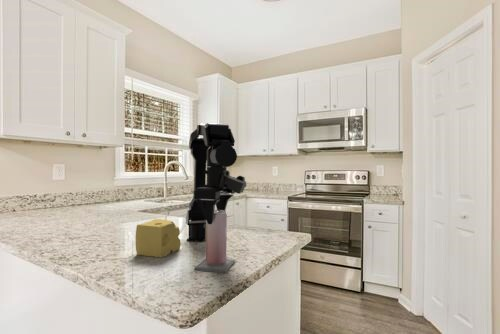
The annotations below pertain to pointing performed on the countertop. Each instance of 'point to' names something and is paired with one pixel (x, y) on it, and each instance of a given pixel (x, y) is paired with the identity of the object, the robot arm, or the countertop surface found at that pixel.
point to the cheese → (157, 238)
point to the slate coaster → (220, 269)
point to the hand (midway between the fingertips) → (216, 220)
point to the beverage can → (216, 239)
